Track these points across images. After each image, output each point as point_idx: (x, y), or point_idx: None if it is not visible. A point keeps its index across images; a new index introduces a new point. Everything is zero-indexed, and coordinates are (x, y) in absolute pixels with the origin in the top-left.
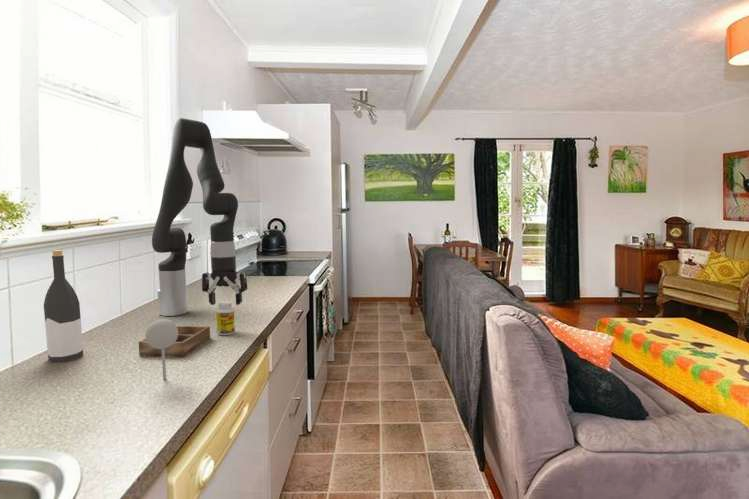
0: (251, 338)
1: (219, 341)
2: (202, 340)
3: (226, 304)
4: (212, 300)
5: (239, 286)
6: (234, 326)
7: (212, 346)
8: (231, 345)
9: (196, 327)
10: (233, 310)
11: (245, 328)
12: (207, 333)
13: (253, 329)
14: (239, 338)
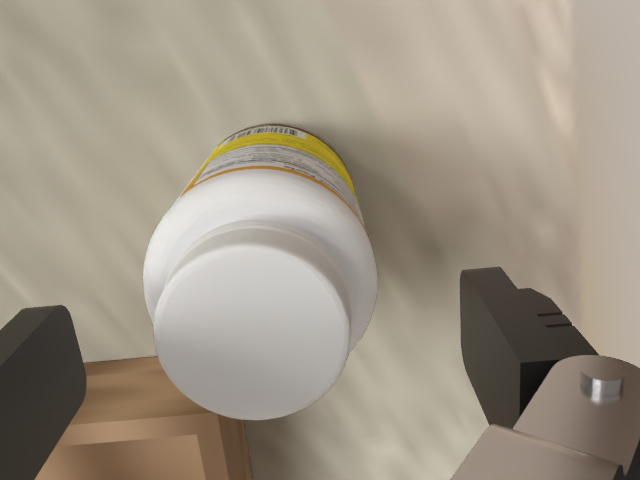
0: (559, 283)
1: (336, 385)
2: (246, 472)
3: (319, 396)
4: (58, 431)
5: (634, 461)
6: (352, 185)
7: (344, 477)
8: (467, 441)
9: (105, 439)
10: (376, 269)
11: (385, 8)
12: (230, 420)
13: (483, 28)
14: (459, 299)
